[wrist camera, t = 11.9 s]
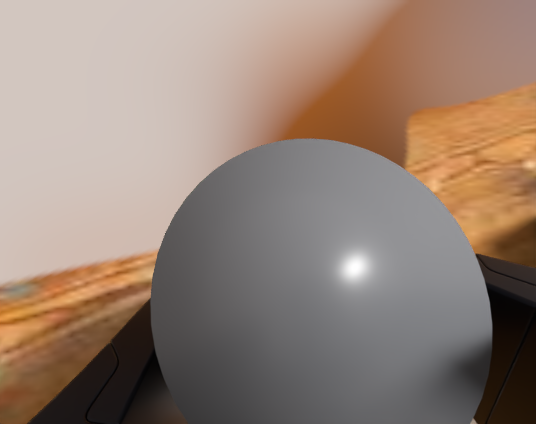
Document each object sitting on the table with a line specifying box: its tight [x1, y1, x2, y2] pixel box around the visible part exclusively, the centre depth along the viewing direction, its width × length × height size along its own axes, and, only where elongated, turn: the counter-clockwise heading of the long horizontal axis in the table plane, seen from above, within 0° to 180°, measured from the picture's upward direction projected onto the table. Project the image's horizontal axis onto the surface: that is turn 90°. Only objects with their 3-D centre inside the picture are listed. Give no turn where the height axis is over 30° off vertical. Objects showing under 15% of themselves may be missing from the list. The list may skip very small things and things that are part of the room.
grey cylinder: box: [150, 139, 492, 424], centre depth 9 cm, size 6×6×11 cm
